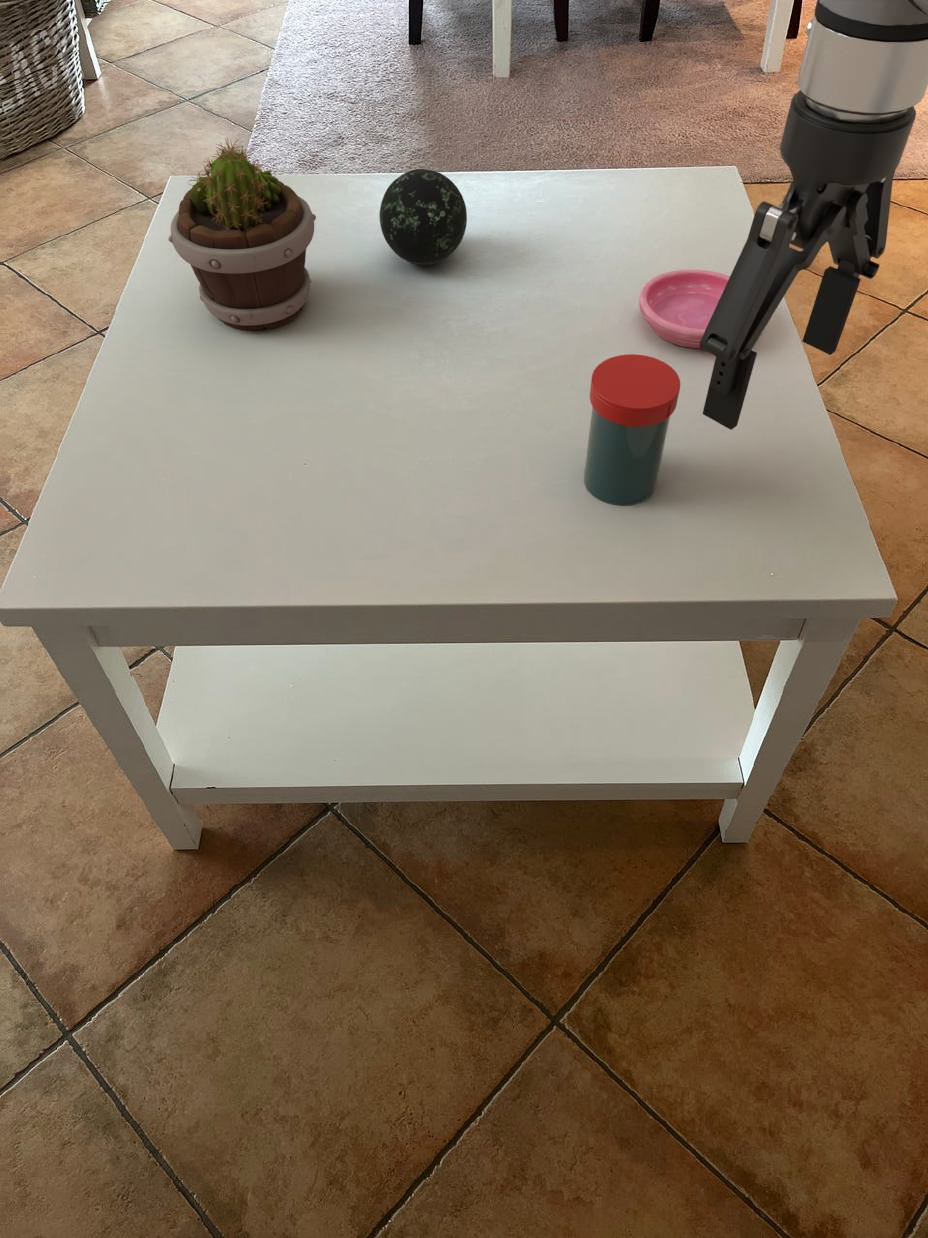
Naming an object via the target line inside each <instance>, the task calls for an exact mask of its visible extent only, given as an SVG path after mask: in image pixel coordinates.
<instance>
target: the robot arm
mask: <svg viewBox="0 0 928 1238" xmlns="http://www.w3.org/2000/svg"><path fill="white" fill-rule="evenodd" d="M805 34H806V36H807V39H806V45H805V48H804V51H803V56H802V60H801V65H800V68H799V72H798V76H797V81H796V84H797V86H798V89H799V90H798V91H797V92H796V93H795V94H794V95H793V96H792V98H791V101H790V105H789V109H788V113H787V117H786V120H785V125H784V129H783V132H782V137H781V141H780V145H779V153H780V157H781V159H782V161H783V163H784V164H785V165H786V166H787V168H788V169H789V171H790V174H791V176H792V179H791V181H790V184H789V187H788V189H787V191H786V194H785V195H784V198H783V200H782V202H781V203H780V204H778V205H775V204H773V203H770V202H768V201H762V202H760V203H759V205H758V206H757V208H756V210H755V212H754V216H753V219H752V221H751V226H750V229H749V232H748V235H747V239H746V241H745V243H744V245H743V247H742V250H741V251H740V254H739V256H738V259H737V260H736V263H735V265H734V267H733V269H732V271H731V274H730V276H729V277H730V278H729V280H728V282H727V284H726V286H725V289H724V291H723V293H722V295H721V297H720V299H719V302H718V304H717V306H716V308H715V310H714V312H713V315H712V317H711V319H710V321H709V323H708V325H707V328H706V330H705V332H704V334H703V336H702V338H701V341H700V345H699V346H700V348H699V349H702V350H704V351H706V352H707V353H709V354H712V355H713V356H715V359H714V363H713V367H712V372H711V376H710V380H709V383H708V388H707V393H706V396H705V402H704V406H703V409H702V415H703V416H705V417H707V418H708V419H711V420H712V421H714V422H716V423H718V424H720V425H721V426H723V427H725V428H726V429H729V430H730V431H732V430H734V429H735V428H736V427H737V426H738V423H739V420H740V417H741V413H742V409H743V406H744V403H745V398H746V395H747V391H748V388H749V384H750V381H751V378H752V377H751V376H752V373H753V369H754V365H755V362H756V358H757V356H758V355H757V354H758V352H756V351H755V350H753V348H754V347H755V345H756V343H757V342H758V340H759V338H760V337H761V336H762V333H763V332H764V330H765V328H766V327H767V326H768V324H769V322H770V321H771V319H772V317H773V316H774V313H775V312H776V310H777V309H778V307H779V305H780V304H781V302H782V300H783V299H784V297H785V295H786V294H787V292H788V290H789V288H790V287H791V286H792V284H793V282H794V280H795V279H796V278H797V276H798V274H799V273H800V271H804V270H807V269H808V268H810V267H811V266H812V264H813V262H814V261H815V259H816V257H817V255H818V254H819V253H820V251H821V249H822V248H823V246H825V244H826V243H828V247H829V251H830V254H831V259H832V261H833V262H832V263H833V264H834V265H836V266H837V267H834V266H831V265H830V266H828V267H827V268H825V269H824V271H823V275H822V278H821V281H820V284H819V287H818V291H817V293H816V297H815V300H814V302H813V306H812V309H811V312H810V316H809V319H808V321H807V322H808V323H807V325H806V328H805V332H804V335H803V338H802V340H801V342H802V343H804V344H806V345H809V346H810V347H812V348H815V349H816V350H819V351H821V352H822V353H825V354H827V355H829V356H831V355H833V354H834V353H836V351H837V348H838V346H839V342H840V340H841V337H842V334H843V331H844V329H845V325H846V323H847V320H848V317H849V315H850V312H851V308H852V306H853V302H854V301H855V297H856V294H857V291H858V290H859V289H858V288H859V285H860V283H861V278H860V276H862V277H864V278H866V279H869V280H872V279H874V277H875V276H876V275H877V273H878V272H879V269H880V263H878V262H875V261H872V260H871V259H872V258H874V259H877V260H878V259H880V257H881V256H882V255H883V254H884V253H885V251H886V250H885V249H886V246H887V238H888V229H889V220H890V219H889V218H890V209H891V201H892V191H893V180H894V177H895V173H896V170H897V169H898V167H899V165H900V163H901V160H902V157H903V154H904V152H905V149H906V146H907V143H908V140H909V137H910V134H911V131H912V129H913V125H914V123H915V120H916V117H917V111H916V108H915V106H917V105H918V104H919V103H920V102H922V100H923V99H924V97H925V94H926V91H927V88H928V0H816V3H815V7H814V13H813V16H812V19H811V20H810V21H809V22H808V24H807V25H806V29H805ZM790 245H792V246H794V247H797V248H798V249H800V250H797V249H795V248H793V247H790Z"/></svg>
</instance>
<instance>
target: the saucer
mask: <svg viewBox="0 0 928 1238" xmlns="http://www.w3.org/2000/svg"><path fill="white" fill-rule="evenodd" d="M729 278H730V276H729V275H727V274H723V273H720V272H716V271H711V270H704V269H680V270H671V271H668V272H663V273H660V274H658V275H656V276H654V277H652V278H651V279H650V280H648V281H647V282H645V285H644V286H643V287H642V288H641V291H640V294H639V299H638V301H639V303H638V305H639V309H640V312H641V314H642V316H643V317H644V319H645V321H646V322H647V324H648V325H649V326H650V327H651V329H652V330H653V331H654V332H655V333H656V335H657V336H659V337H660V338H662V339H663V340H665V341H667V342H669V343H671V344H674V345H677V346H679V347H683V348H690V349H701V348H700V346H699V345H700V341H701V338H702V336H703V334H704V332H705V330H706V328H707V325H708V323H709V321H710V319H711V317H712V315H713V312H714V310H715V308H716V306H717V304H718V302H719V299H720V297H721V295H722V293H723V291H724V289H725V286H726V284H727V282H728V280H729Z"/></svg>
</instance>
